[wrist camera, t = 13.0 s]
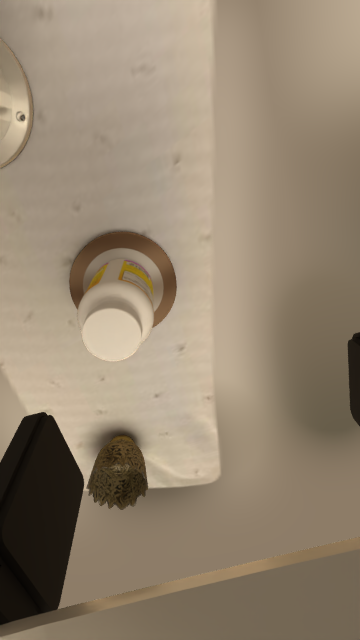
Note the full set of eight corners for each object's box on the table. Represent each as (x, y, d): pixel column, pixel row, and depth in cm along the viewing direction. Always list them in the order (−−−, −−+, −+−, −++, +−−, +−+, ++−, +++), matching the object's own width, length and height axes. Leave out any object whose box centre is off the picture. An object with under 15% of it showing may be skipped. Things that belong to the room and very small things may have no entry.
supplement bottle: (98, 316, 40) (75, 376, 28) (88, 259, 37) (58, 300, 25) (156, 310, 40) (157, 368, 28) (150, 254, 37) (149, 291, 25)
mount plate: (56, 247, 38) (52, 250, 36) (160, 219, 37) (161, 221, 36) (92, 340, 43) (90, 346, 41) (185, 316, 42) (187, 321, 41)
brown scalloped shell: (120, 413, 47) (114, 457, 40) (158, 440, 50) (160, 486, 43) (85, 444, 49) (74, 492, 42) (124, 469, 52) (120, 518, 44)
